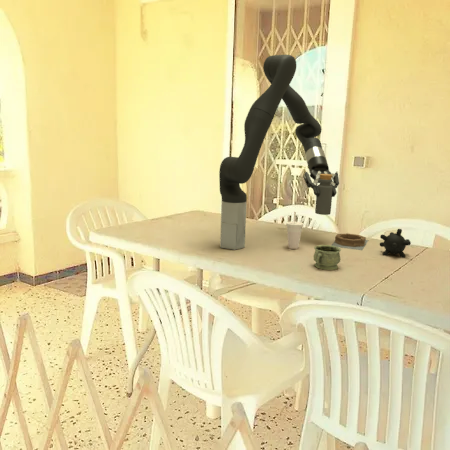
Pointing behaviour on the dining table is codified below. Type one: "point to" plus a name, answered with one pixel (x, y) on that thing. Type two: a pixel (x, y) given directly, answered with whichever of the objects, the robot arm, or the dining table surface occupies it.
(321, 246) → the vessel
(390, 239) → the toy ball
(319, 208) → the bottle
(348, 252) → the dining table surface
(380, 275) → the dining table surface
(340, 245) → the mat
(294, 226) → the smoothie
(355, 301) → the dining table surface
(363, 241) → the ring
